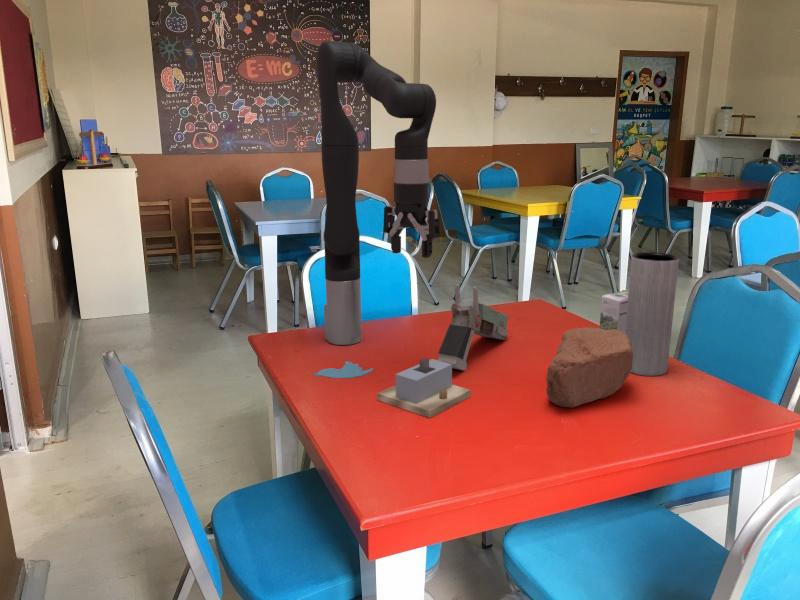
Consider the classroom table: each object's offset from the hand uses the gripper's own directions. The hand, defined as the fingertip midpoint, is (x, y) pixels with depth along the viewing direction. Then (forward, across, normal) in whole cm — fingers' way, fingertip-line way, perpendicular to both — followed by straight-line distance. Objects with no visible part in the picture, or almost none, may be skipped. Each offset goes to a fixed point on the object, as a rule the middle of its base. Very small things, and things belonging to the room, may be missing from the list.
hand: (411, 255), depth 145 cm
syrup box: (+28, -29, -46) cm, 61 cm away
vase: (+28, -40, -38) cm, 62 cm away
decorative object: (+29, +13, +9) cm, 33 cm away
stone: (+28, -36, -14) cm, 48 cm away
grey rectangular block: (+27, -11, +9) cm, 30 cm away
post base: (+28, -11, +9) cm, 31 cm away
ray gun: (+28, -4, -21) cm, 35 cm away
